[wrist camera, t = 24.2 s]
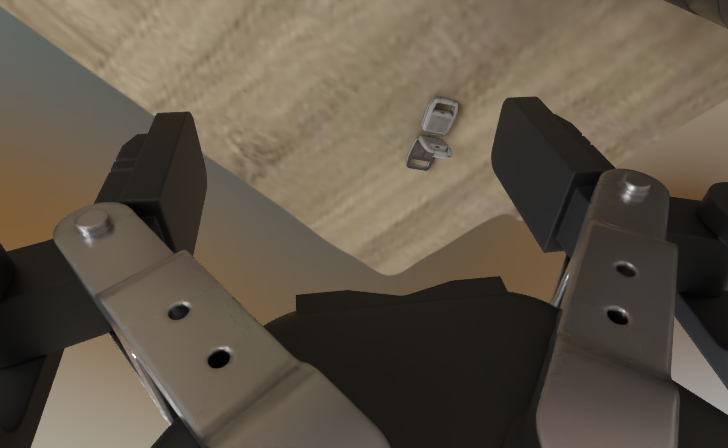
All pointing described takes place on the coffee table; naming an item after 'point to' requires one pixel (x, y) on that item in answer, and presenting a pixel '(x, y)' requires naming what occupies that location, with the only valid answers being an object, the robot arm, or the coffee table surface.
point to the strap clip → (435, 125)
